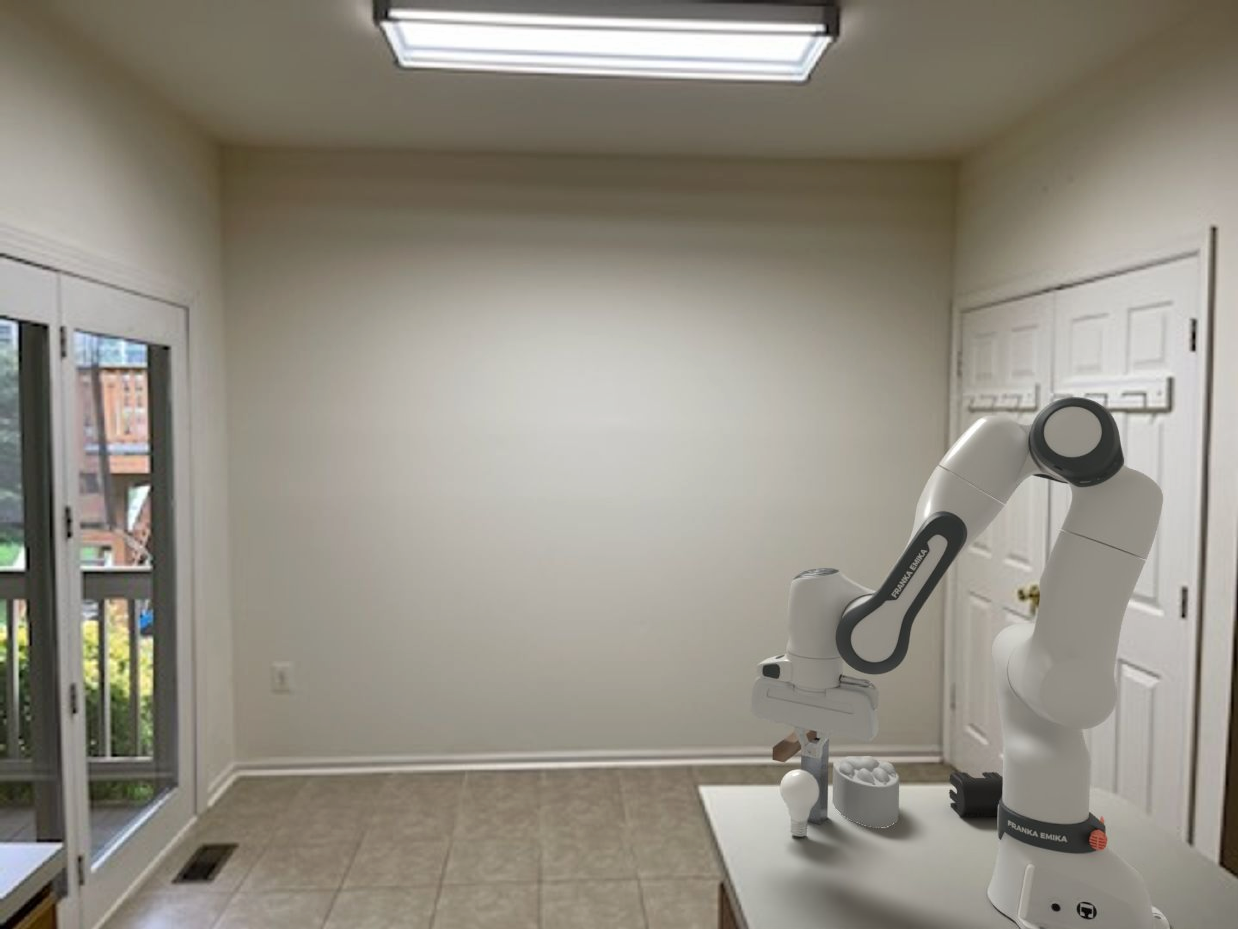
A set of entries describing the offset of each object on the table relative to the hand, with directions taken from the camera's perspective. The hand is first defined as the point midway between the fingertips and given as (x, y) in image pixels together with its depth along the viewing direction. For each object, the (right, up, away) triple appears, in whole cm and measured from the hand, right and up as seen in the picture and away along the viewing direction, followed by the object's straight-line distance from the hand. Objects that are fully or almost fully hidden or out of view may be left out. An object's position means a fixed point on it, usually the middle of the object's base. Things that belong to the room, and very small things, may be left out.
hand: (811, 756), depth 136 cm
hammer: (-1, -1, +6) cm, 6 cm away
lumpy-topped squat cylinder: (+13, -15, +15) cm, 26 cm away
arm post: (+3, -15, +13) cm, 20 cm away
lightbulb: (-1, -16, +6) cm, 17 cm away
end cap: (+34, -16, +15) cm, 40 cm away
